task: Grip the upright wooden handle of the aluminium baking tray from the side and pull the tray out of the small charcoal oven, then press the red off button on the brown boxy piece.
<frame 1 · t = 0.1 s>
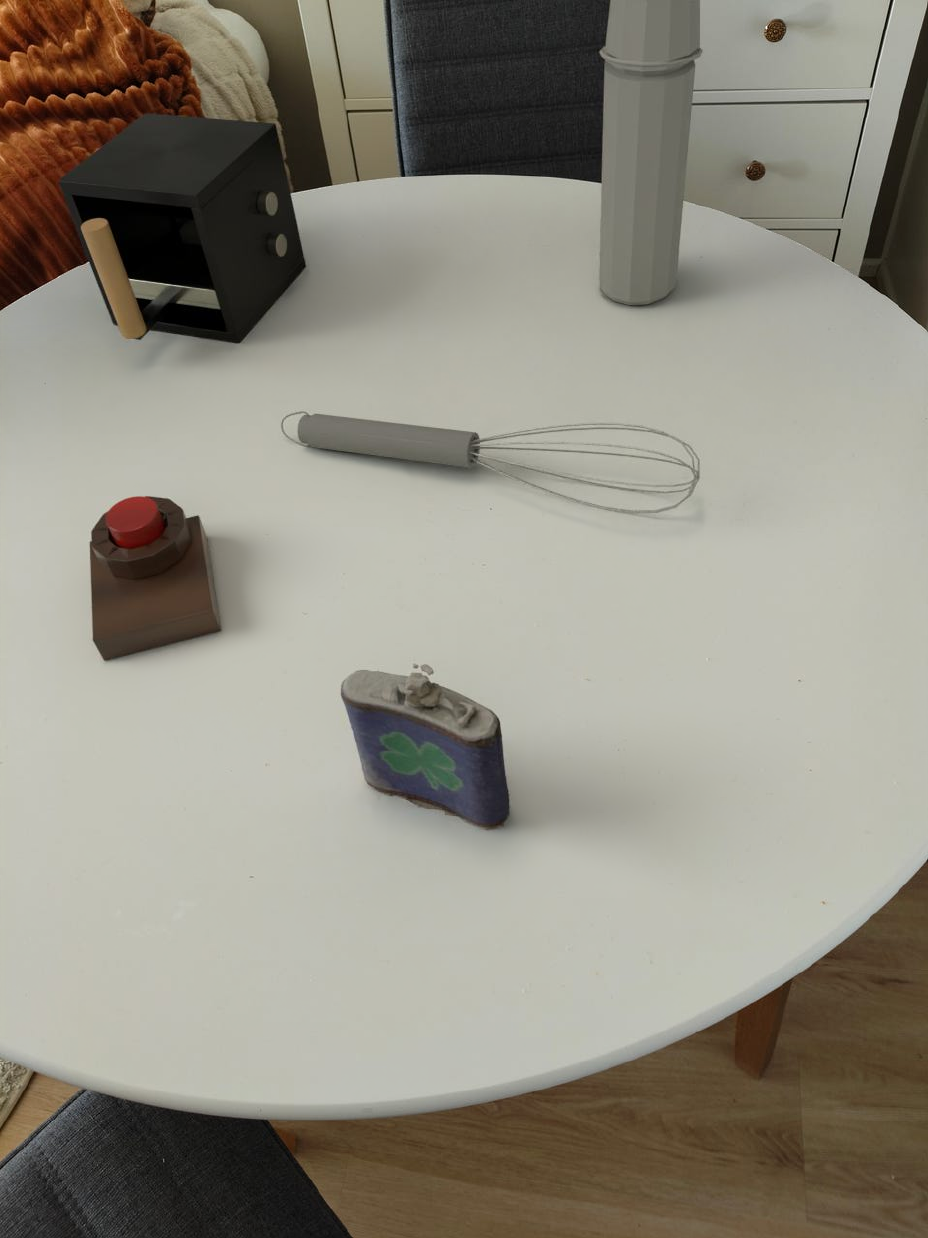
tray: (166, 235, 89), point 8 cm above the table, slide at 0.0 cm
off button: (135, 522, 69), point 4 cm above the table, slide at 0.1 cm
kitchen whisk: (480, 479, 76), on the table
brown boxy piece: (158, 595, 71), on the table
flask: (438, 793, 58), on the table
water bottle: (638, 285, 93), on the table
oven: (212, 294, 98), on the table
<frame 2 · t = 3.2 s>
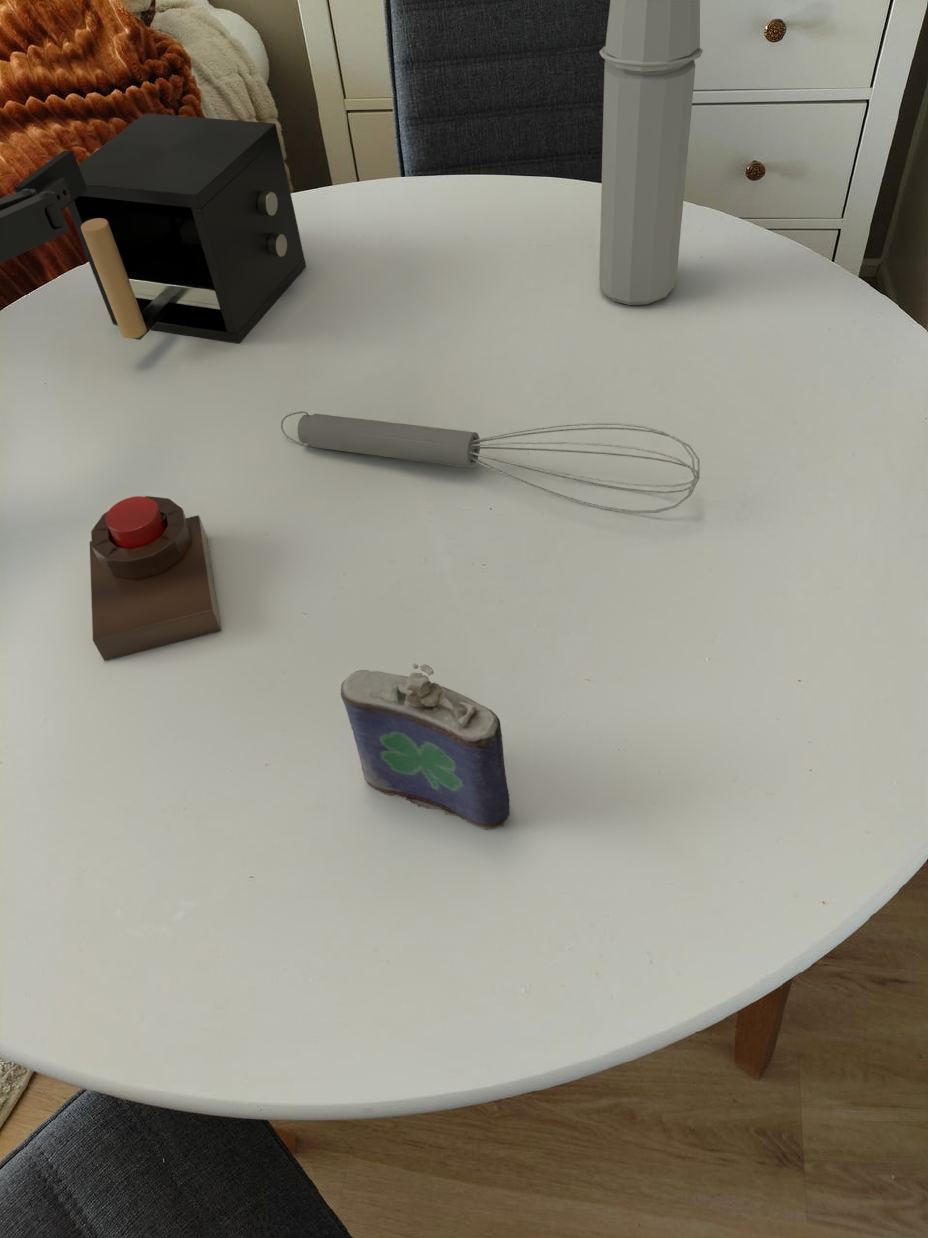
nothing on the table moved.
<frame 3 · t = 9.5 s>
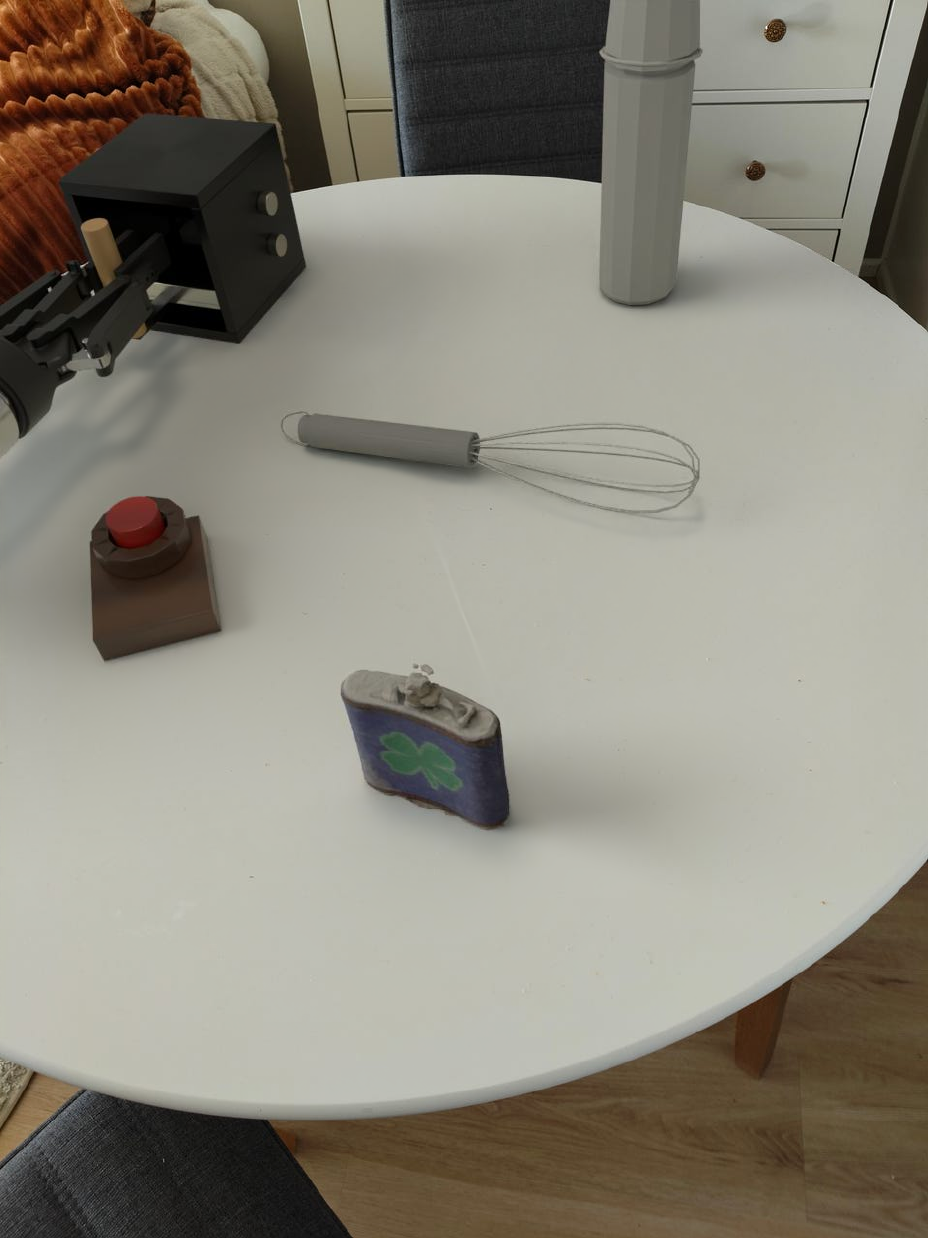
hand: (149, 246, 87), 8 cm above the table, tool horizontal, fingers closed on tray, 2 cm apart
tray: (166, 235, 89), point 8 cm above the table, slide at 0.0 cm, touching gripper
everything else where it was.
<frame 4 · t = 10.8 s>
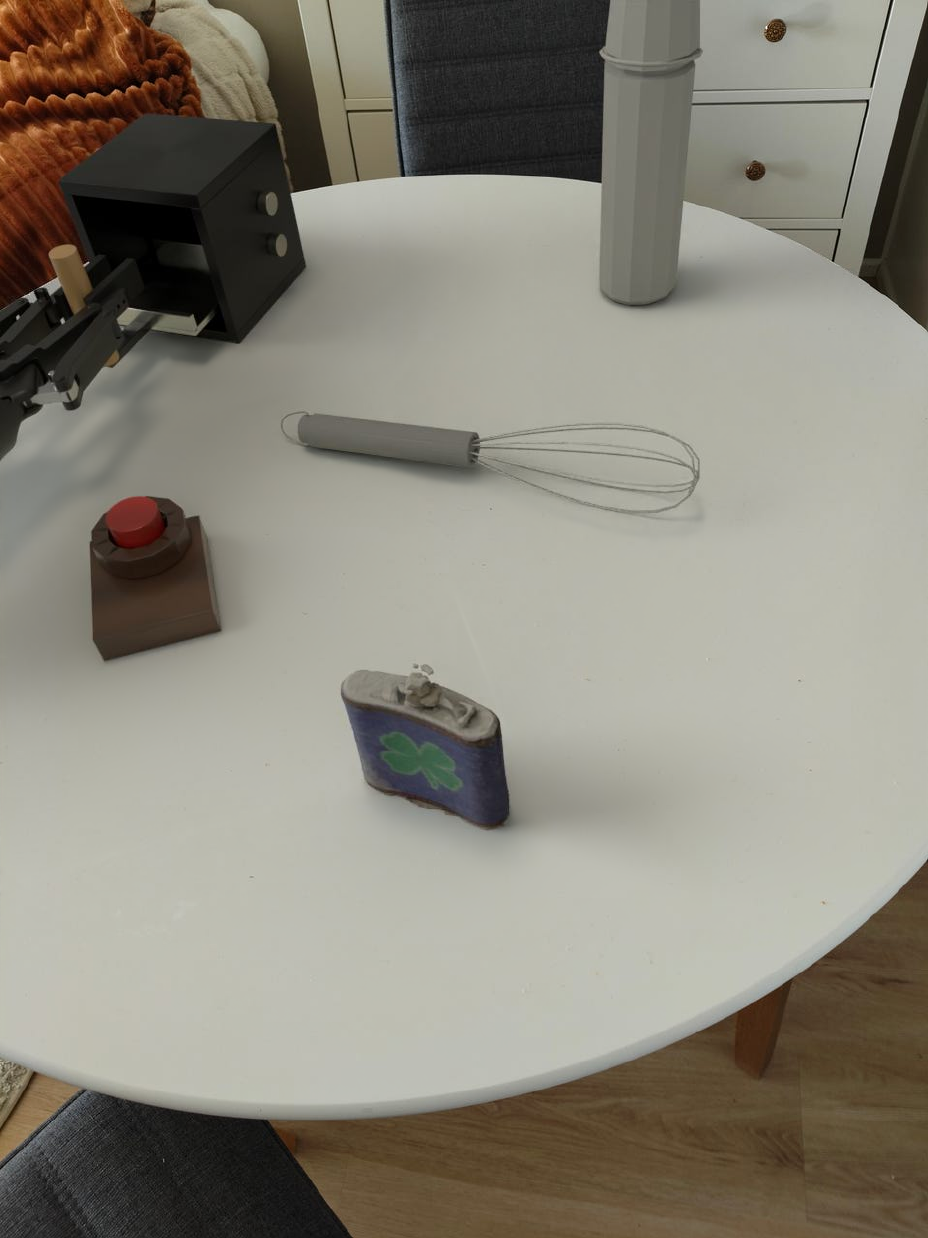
hand: (121, 271, 85), 8 cm above the table, tool horizontal, fingers closed on tray, 2 cm apart
tray: (140, 259, 87), point 8 cm above the table, slide at 4.4 cm, touching gripper
everything else where it was.
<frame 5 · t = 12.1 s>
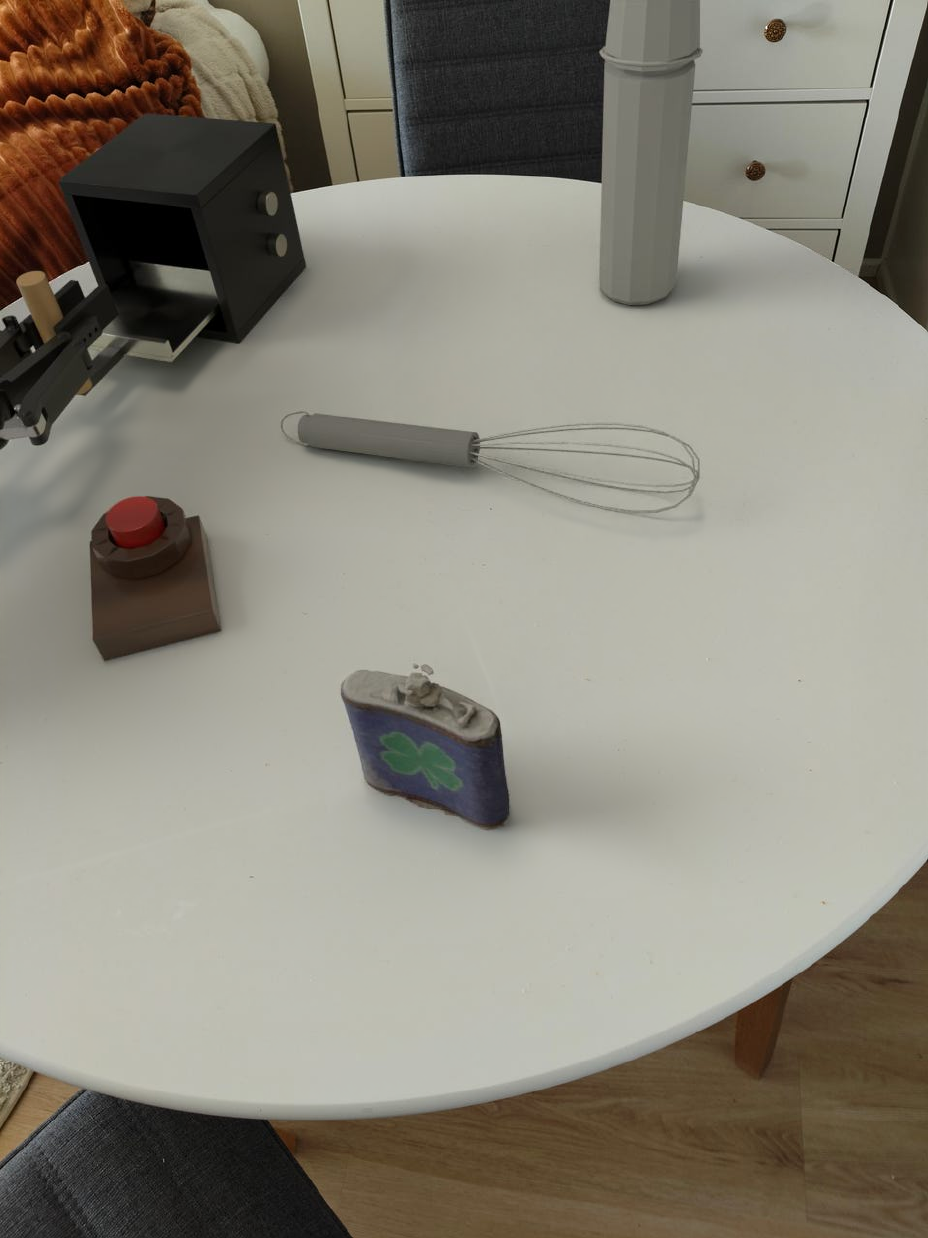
hand: (94, 297, 82), 8 cm above the table, tool horizontal, fingers closed on tray, 2 cm apart
tray: (114, 284, 84), point 8 cm above the table, slide at 8.5 cm, touching gripper
everything else where it was.
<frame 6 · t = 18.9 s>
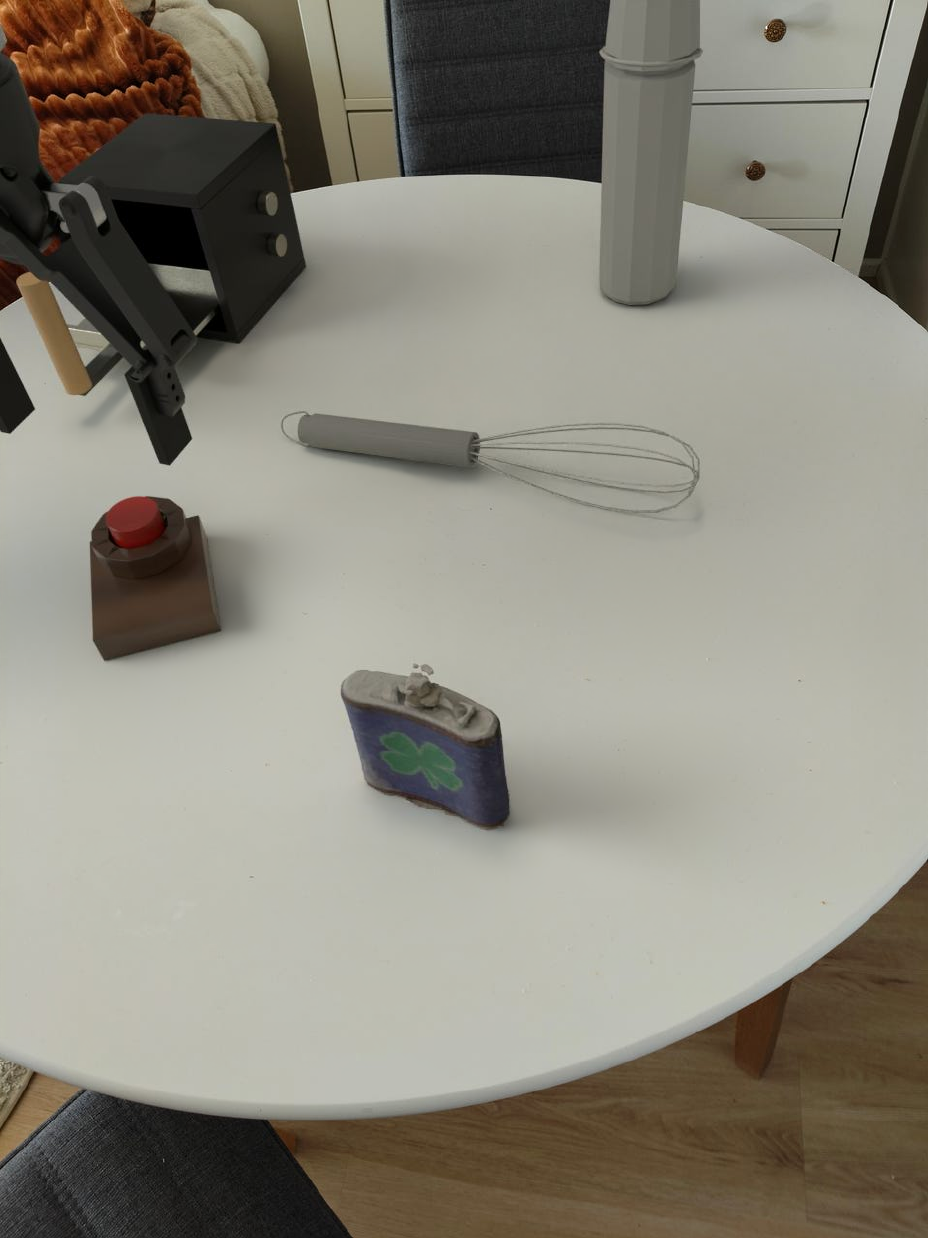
hand: (95, 435, 63), 12 cm above the table, tool pointing down, fingers open, 11 cm apart
tray: (114, 284, 84), point 8 cm above the table, slide at 8.5 cm
everything else where it was.
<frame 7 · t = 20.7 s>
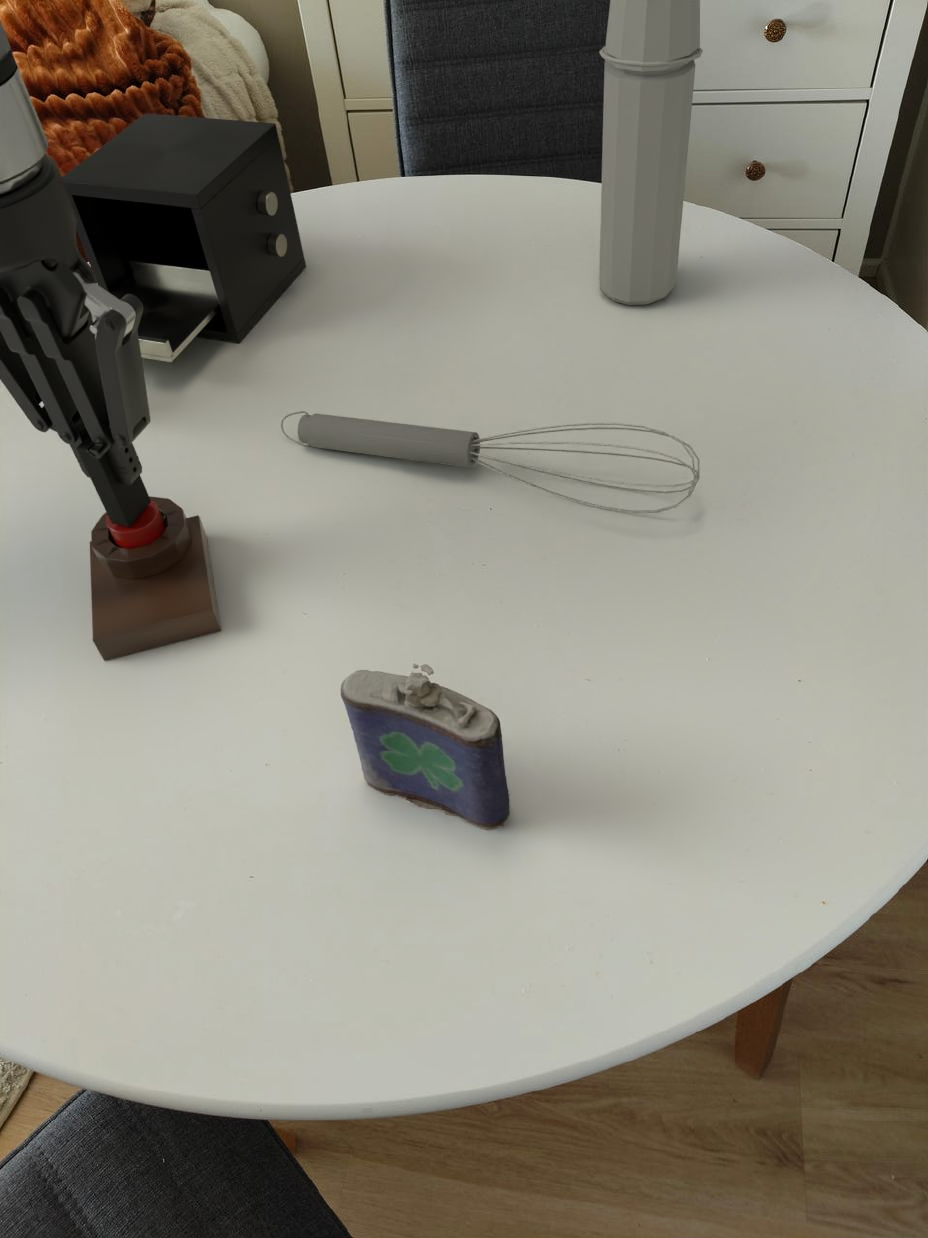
hand: (131, 511, 68), 6 cm above the table, tool pointing down, fingers closed
off button: (136, 523, 69), point 4 cm above the table, slide at 0.0 cm, touching gripper
everything else where it was.
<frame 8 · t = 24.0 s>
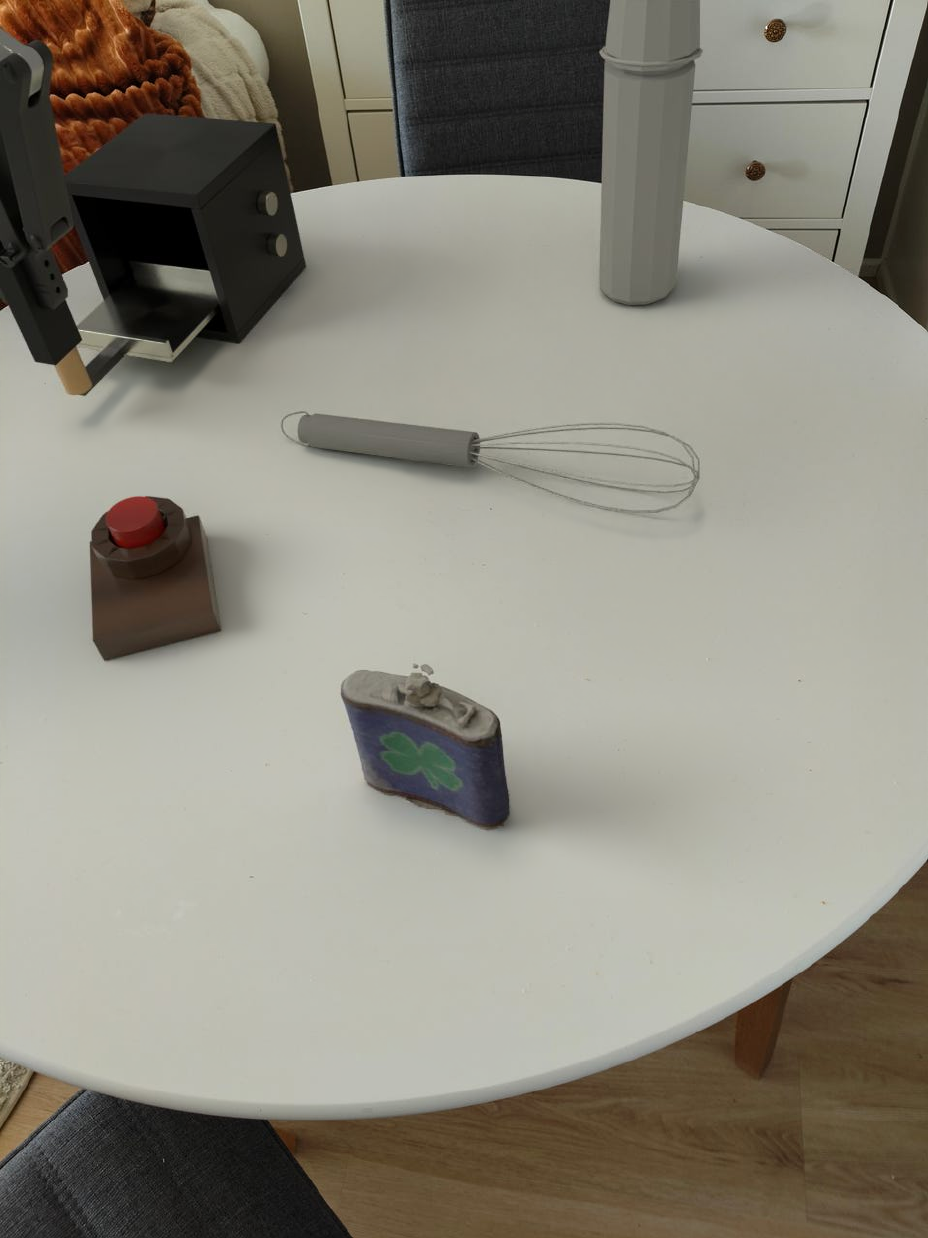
hand: (58, 350, 59), 18 cm above the table, tool pointing down, fingers closed
off button: (135, 522, 69), point 4 cm above the table, slide at 0.1 cm
everything else where it was.
at the end: tray slide at 8.5 cm; off button pushed in 1.0 cm at the most during the clip, back to where it started at the end; off button slide at 0.1 cm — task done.
